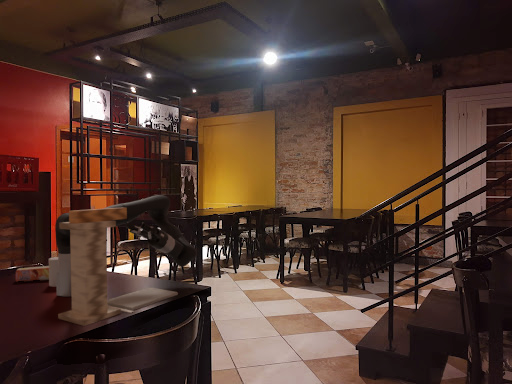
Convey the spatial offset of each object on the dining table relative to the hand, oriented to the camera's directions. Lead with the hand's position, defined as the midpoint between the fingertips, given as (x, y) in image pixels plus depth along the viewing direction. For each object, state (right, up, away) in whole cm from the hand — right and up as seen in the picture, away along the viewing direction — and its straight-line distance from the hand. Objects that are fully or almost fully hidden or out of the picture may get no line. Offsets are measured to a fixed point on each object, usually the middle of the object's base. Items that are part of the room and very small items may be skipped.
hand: (134, 224), depth 147 cm
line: (-5, -30, -8) cm, 31 cm away
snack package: (-57, -30, +38) cm, 75 cm away
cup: (-43, -30, +29) cm, 60 cm away
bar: (-8, +2, -13) cm, 15 cm away
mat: (+2, -29, +3) cm, 29 cm away
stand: (-10, -30, -16) cm, 35 cm away
